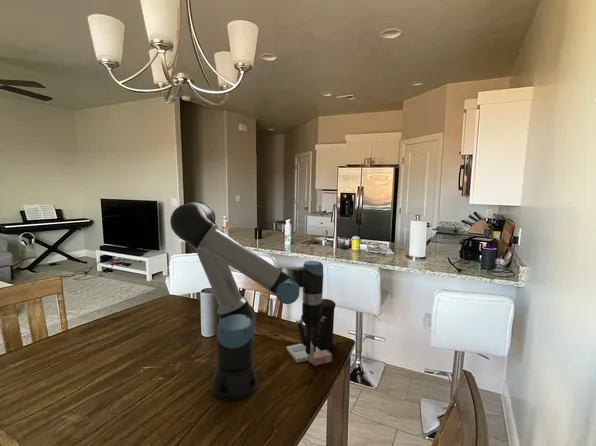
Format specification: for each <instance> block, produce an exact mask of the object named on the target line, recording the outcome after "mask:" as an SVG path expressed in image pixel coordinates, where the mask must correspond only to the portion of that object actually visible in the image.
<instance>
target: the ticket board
mask: <svg viewBox="0 0 596 446" xmlns="http://www.w3.org/2000/svg"><path fill="white" fill-rule="evenodd" d="M311 343H312V342H311ZM285 348H286V349H285V350H286V351H287V352H288V354H289V355H290V357H292V359H293V360H294V361H295V362H296V363H298V364H299V363H303V362H309V361H308V360H307V353H306V351H305V350H306V346H304V345H303V344H302V343H301V342H300V343H297V344H292V345H288V346H285ZM318 351H322V349H319V348H318V347H317V346H316V352H318Z"/></svg>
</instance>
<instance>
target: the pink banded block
mask: <svg viewBox="0 0 596 446" xmlns="http://www.w3.org/2000/svg"><path fill="white" fill-rule="evenodd" d="M331 362H332V363H333V354H332V353H331V351H329V349H327V350H323V349H321V351H318V352H314V362H311V364H312V365H313V366H314V367H315V366H319V365H323V364H327V363H328V364H329V363H331Z"/></svg>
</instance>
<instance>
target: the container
mask: <svg viewBox="0 0 596 446" xmlns="http://www.w3.org/2000/svg"><path fill="white" fill-rule="evenodd" d="M321 303H322V316H324V317H326V318H327V319H328V320H327V322H326V324H325V327H324V331H323V335H322V339H321V342H320V343H317V344H318V345H317V347H318V348H319V349H320V350H330V349H331V348H333V345H334V323H335V321H334V320H335V319H334V318H335V308H336V302H335V301H334V300H332V299H329V298H322V302H321ZM319 322H320V321H319ZM318 325H319V323H318ZM317 329H318V328H317Z"/></svg>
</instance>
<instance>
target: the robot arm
mask: <svg viewBox="0 0 596 446" xmlns="http://www.w3.org/2000/svg"><path fill="white" fill-rule="evenodd" d="M169 219H170V227H171V230H172V231H173V233H174V234H175V236H177V237H178V238H179V239H180V240H183V242H185V243H187V244H188V245H189V246H191V247H192V248H194V249H195V252H196V254H197V256H198V258H199V261H200V263H201V266H202V269H203V271H204V273H205V276H206V278H207V280H208V283H209V284H210V287H211V289H212V292H213V294H214V296H215V298H216V301H217V304H218V306H219V307H218V309H217V314H218V317H219V319H220V321H219V322H218V323H217V328H216V329H217V330H216V368H215V372H214V375H213V377H212V379H211V393H212V394H213V395H212V396H214V397H215V398H217V399H218V400H221V401H224V402H238V401H243V400H246V399H247V398H249V397H250V396H252V395H253V394H254V393H255V391H256V389H257V387H258V379H257V378H258V377H257V375H256V372H255V368H254V366H253V345H254V344H253V340H254V335H255V327H256V324H257V315H256V311H255V309H254V307H253V306H252V305H251V304H250V303H249V301H248V298H247V297H244V296H242V295H241V292H240V289H239V288H238V285H237V283H236V280H235V277H234V275H233V273H232V271H231V268H233V269H234V270H236V271H237V272H240V273H241V274H243V275H244V276H246V277H247V278H249V279H251V280H252V281H253V282H255V283H257V284H258V285H260V286H262V287H263V288H265V289H267V290H268V291H269V292H271V293H272V294H274V295H276V299H277V300H278V301H279V302H280V303H282V304H284V305H291V304H293V303H295V302H296V301H297V300H298V299H299V296H300V291H301V290H300V288H302V298H301V299H302V305H301V311H302V314H301V316H300V319H299V320H295V325H296V326H297V329H298V333H299V334H298V335H299V340H300V344H301V343H302V344H303V345H304V346H306V350H305V351H306V353H307V360H308V361H307V362H309V363H311V362H314V352H316V346H317V345H318V344H317V343H320V342H321V339H322V335H323V331H324V327H325V324H326V322H327V320H328V319H327V318H326V317H324V316H322V303H321V302H322V299H323V293H324V292H323V291H324V289H323V288H324V275H325V274H324V264H323V263H322V262H321V261H318V260H306V261H304V262H303V266H274V265H273V264H272V263H270V262H268V261H267V260H265V259H264V258H262V257H261V256H259V255H257V254H256V253H254V252H253V251H251V250H249V249H248V248H247V247H245V246H243V244H241V243H239V242H238V241H236V240H235V239H233V238H231V237H230V236H228V235H227V234H226V233H223V232H222V231H220V230H219V227H218V225H217V222H216V214H215V211H214V209H213V208H212V207H211V206H210V205H209V204H208V203H205V202H202V201H192V202H189V203H185V204H180V205H179V206H178V207H176V208H175V209H174V210H173V212H172V214H171V215H170V218H169ZM230 267H231V268H230ZM319 321H320V322H319ZM318 323H319V325H318ZM304 327H305V328H304ZM317 328H318V329H317ZM311 342H312V343H311ZM311 364H312V363H311Z"/></svg>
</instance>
